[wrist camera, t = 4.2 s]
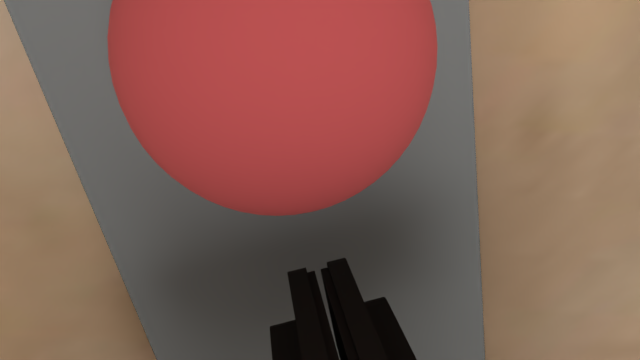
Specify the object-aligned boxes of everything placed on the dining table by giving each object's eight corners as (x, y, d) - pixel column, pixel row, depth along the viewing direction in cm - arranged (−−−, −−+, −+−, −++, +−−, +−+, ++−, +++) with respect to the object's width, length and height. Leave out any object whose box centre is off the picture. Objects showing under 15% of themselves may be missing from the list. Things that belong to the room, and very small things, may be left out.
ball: (215, -341, 4) (224, -176, 9) (-27, 181, 6) (98, 66, 11) (588, 53, 6) (426, 4, 11) (338, 328, 8) (296, 177, 13)
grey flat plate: (483, 386, 17) (486, 390, 17) (204, 465, 16) (204, 471, 16) (437, -573, 8) (442, -587, 8) (-212, -522, 7) (-225, -536, 7)
